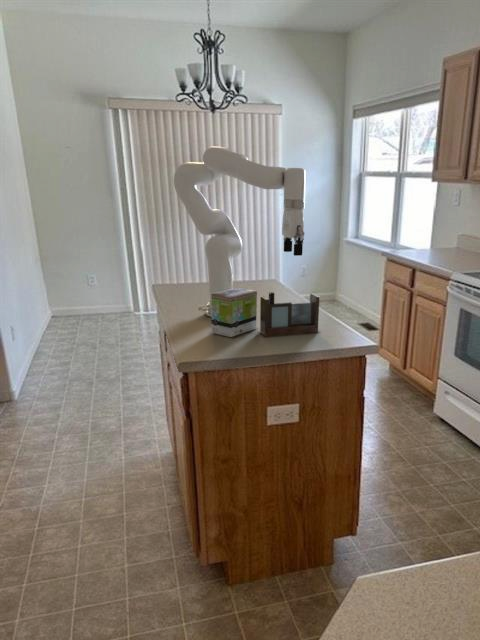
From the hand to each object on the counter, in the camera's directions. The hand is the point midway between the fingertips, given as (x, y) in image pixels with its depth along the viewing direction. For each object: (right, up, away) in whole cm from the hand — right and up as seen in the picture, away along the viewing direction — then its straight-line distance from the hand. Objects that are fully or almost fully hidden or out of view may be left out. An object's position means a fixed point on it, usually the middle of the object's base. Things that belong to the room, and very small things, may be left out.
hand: (292, 253), depth 197 cm
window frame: (-1, -29, 0) cm, 29 cm away
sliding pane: (-5, -29, -3) cm, 29 cm away
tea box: (-22, -29, 0) cm, 36 cm away
